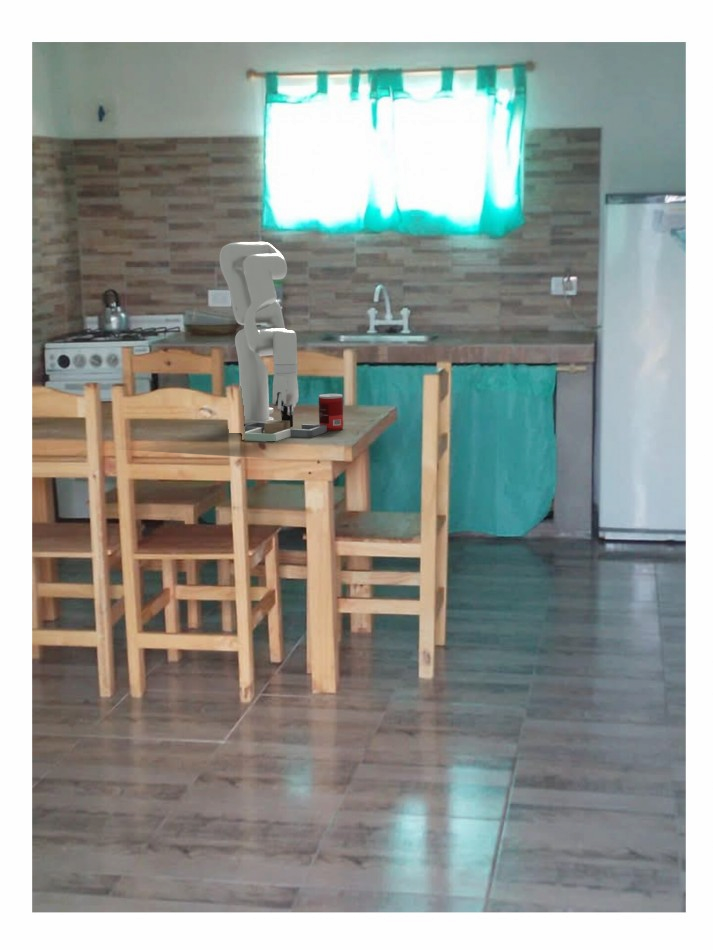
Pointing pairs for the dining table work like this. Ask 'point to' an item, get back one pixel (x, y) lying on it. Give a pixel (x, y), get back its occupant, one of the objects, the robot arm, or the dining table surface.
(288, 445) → the dining table surface
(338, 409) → the canned food
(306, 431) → the tray
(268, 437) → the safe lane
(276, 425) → the walnut block
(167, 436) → the dining table surface
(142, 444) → the dining table surface
